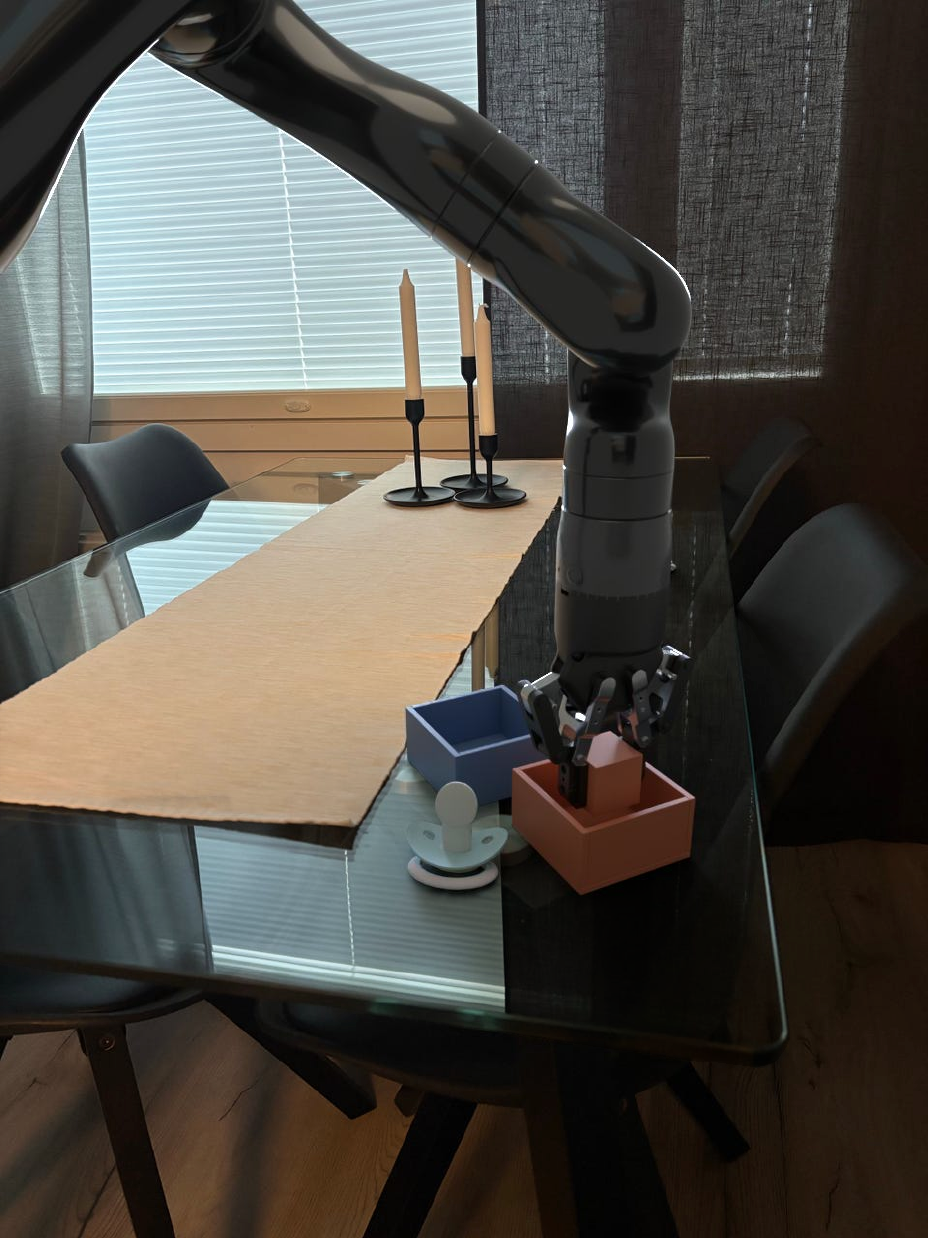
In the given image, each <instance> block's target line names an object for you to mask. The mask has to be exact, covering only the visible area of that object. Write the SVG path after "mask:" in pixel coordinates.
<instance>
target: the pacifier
mask: <svg viewBox="0 0 928 1238" xmlns="http://www.w3.org/2000/svg"><path fill="white" fill-rule="evenodd" d="M434 807H435V808H434V809H435V812H436V815H437V817H438V819H439V820H440V821H441V826H440V825H438V824H435V823H432V822H428V821H423V820H421V821H420V820H419V821H417V820H416V821H412V822H410V823H408V824H407V826H406V829H405V839H406V842H407V845H408V847H409V849H410V851H411V852H412V853H413V854H414V855H415V856H413V857H412V858H411V859H410V860H409V862H408V864H407V871H408V873H409V875H410V876H411V877H412V878H413V879H415V880H416V881H417V882H420V883H422V884H424V885H426V886H430V887H433V888H438V889H443V890H452V891H453V890H457V891H462V890H472V889H477V888H482V887H484V886H486V885H488V884H490V883H492V882H493V881H495V880H496V878H497V876H498V874H499V870H498V869H499V868H498V866H497V865H496V863H494V861H492V860H493V859H495V858H496V857H497V856H498V855H499V854H500V853H501V852H502V851H503V849H504V848H505V846H506V844H507V842H508V835H509V834H508V831H507V829H505V828H503V827H489V828H483V829H479V830H475V831H472V822H473V821H474V819H475V817H476V816H477V812H478V806H477V798H476V796H475V793H474V792H473V790H472V789H471V788H470V787H469V786H468V785H466V784H464V783H462V782H451V783H448V784H446V785H445V786H443V787H442V788H441V790H440V791H439V792H437V795H436V797H435V801H434ZM425 835H431V836H432V837H433V839H430V838H427V837H426V836H425ZM488 840H491V841H490V842H488V843H485V842H487V841H488ZM425 864H428V865H430V866H432V867H435V868H437V869H438V870H440V871H443V872H447V873H452V874H453V873H455V874H463V873H464V874H465V873H470V872H473V871H475V870H477V869H479V868H480V867H482V868H483V871H481V872H479V873H478V874H475V875H472V876H471V875H470V876H466V877H449V876H448V877H446V876H443V875H438V874H434V873H431V872H429V871H427V870H426V869H425V868H423V865H425Z"/></svg>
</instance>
